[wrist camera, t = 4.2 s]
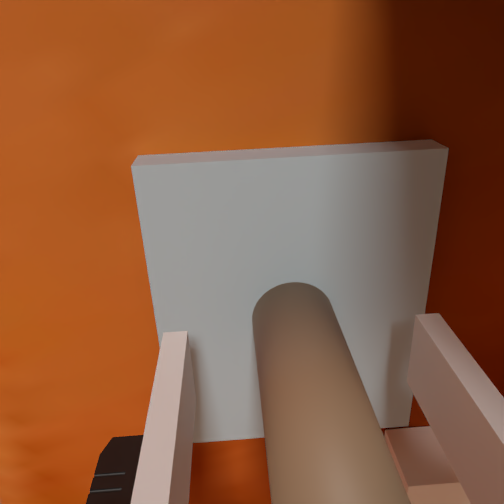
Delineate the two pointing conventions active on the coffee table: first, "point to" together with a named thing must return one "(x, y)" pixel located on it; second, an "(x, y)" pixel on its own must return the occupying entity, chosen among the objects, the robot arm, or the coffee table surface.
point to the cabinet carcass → (424, 467)
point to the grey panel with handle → (297, 299)
